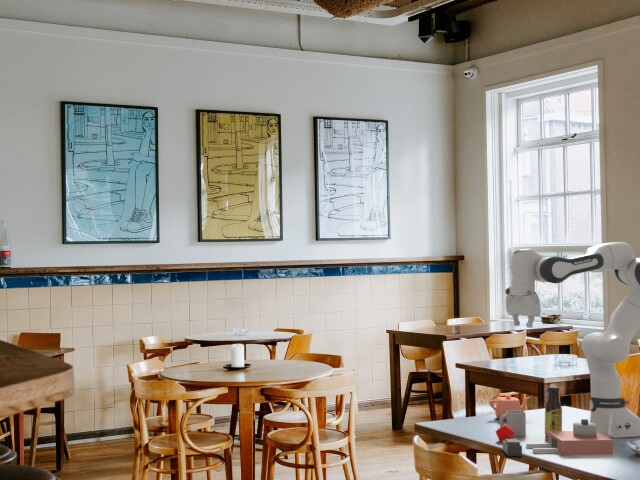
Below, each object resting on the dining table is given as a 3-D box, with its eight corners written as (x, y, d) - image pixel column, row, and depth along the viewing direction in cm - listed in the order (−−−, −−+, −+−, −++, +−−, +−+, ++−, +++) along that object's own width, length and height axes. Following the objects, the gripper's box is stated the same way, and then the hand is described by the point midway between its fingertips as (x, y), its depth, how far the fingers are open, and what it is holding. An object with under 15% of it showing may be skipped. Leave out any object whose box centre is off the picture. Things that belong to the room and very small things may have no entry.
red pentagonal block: (511, 430, 301) (512, 418, 309) (493, 432, 304) (494, 421, 311) (516, 446, 303) (517, 434, 310) (498, 448, 305) (499, 436, 313)
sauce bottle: (553, 442, 305) (552, 388, 306) (541, 439, 311) (540, 386, 311) (566, 440, 308) (565, 387, 309) (554, 437, 314) (553, 385, 314)
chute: (502, 450, 293) (502, 437, 294) (516, 450, 293) (516, 437, 293) (507, 456, 284) (507, 442, 285) (522, 456, 284) (521, 442, 284)
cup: (525, 437, 314) (525, 414, 314) (499, 436, 317) (498, 412, 317) (526, 433, 321) (525, 410, 321) (500, 432, 324) (499, 409, 324)
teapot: (486, 417, 357) (486, 393, 357) (527, 416, 357) (527, 392, 357) (492, 422, 345) (492, 397, 345) (535, 421, 345) (534, 396, 346)
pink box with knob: (596, 444, 301) (595, 415, 301) (613, 454, 285) (612, 423, 285) (523, 445, 300) (523, 416, 300) (536, 455, 284) (535, 424, 284)
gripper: (544, 291, 306) (545, 328, 305) (517, 289, 326) (517, 324, 325) (529, 291, 304) (529, 328, 304) (502, 289, 324) (502, 325, 323)
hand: (523, 326), depth 315 cm, fingers open, 8 cm apart
